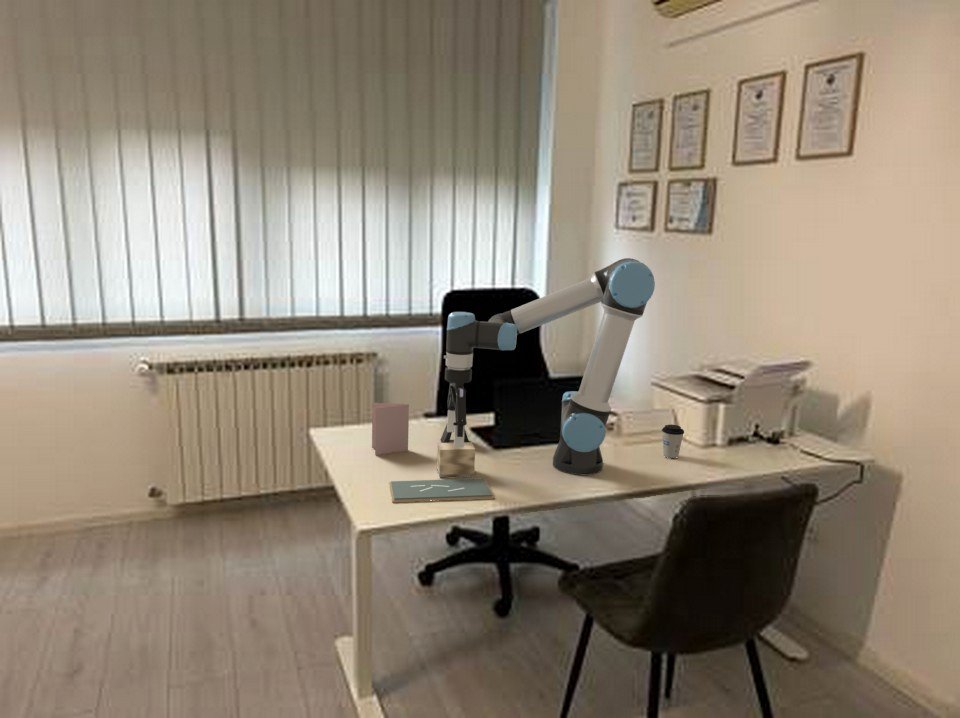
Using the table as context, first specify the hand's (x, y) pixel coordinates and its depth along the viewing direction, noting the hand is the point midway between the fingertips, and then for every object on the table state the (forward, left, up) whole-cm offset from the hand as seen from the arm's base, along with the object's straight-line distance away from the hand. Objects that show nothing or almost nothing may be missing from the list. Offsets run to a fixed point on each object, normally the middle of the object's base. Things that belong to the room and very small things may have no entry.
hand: (455, 439), depth 211 cm
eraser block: (0, 0, -11) cm, 11 cm away
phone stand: (-4, -27, -11) cm, 29 cm away
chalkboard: (+6, +13, -10) cm, 18 cm away
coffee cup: (-71, -9, -11) cm, 73 cm away
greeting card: (+18, -20, -11) cm, 29 cm away
